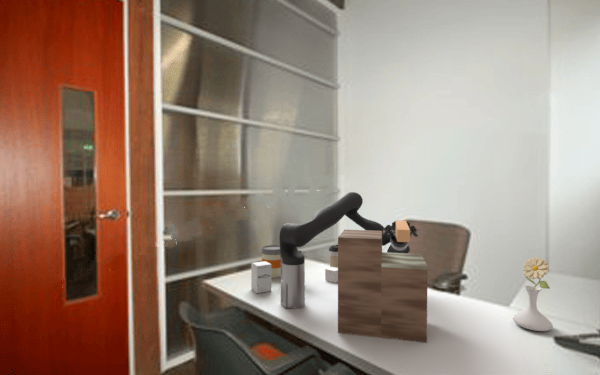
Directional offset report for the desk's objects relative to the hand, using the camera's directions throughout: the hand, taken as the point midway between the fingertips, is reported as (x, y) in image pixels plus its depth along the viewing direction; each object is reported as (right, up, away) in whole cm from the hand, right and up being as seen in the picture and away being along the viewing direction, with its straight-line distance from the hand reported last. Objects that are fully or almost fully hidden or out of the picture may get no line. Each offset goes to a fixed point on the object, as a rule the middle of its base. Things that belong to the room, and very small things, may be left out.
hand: (401, 223), depth 127 cm
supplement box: (-56, -34, +28) cm, 72 cm away
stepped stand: (-10, -35, -10) cm, 37 cm away
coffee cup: (-18, -33, +58) cm, 69 cm away
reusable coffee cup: (-53, -34, +53) cm, 82 cm away
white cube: (-21, -34, +44) cm, 59 cm away
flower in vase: (+42, -35, -12) cm, 56 cm away
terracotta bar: (-2, -4, -6) cm, 7 cm away
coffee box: (-43, -34, +38) cm, 66 cm away
